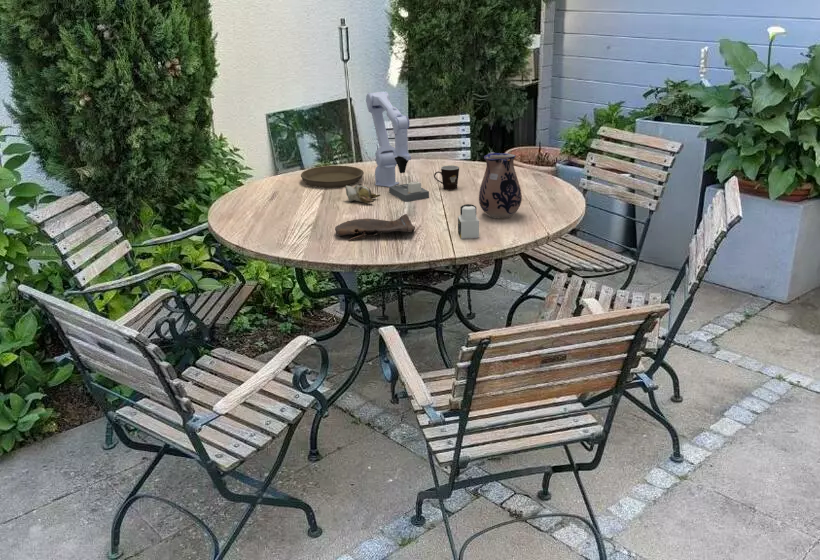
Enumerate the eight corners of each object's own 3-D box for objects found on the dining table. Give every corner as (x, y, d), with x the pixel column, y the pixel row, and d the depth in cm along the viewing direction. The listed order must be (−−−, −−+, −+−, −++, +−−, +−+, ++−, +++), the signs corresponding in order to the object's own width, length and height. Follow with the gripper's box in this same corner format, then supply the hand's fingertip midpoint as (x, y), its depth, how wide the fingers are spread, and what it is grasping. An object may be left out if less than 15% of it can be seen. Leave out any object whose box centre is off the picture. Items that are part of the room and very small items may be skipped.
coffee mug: (459, 186, 343) (459, 165, 339) (459, 190, 335) (459, 169, 331) (435, 185, 344) (435, 165, 340) (434, 190, 336) (433, 169, 332)
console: (389, 193, 335) (388, 186, 334) (412, 189, 340) (411, 182, 339) (405, 201, 321) (405, 195, 320) (429, 197, 326) (428, 191, 324)
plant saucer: (376, 177, 362) (375, 168, 360) (338, 193, 338) (337, 183, 336) (327, 171, 378) (327, 162, 376) (288, 185, 354) (287, 176, 352)
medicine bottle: (457, 233, 280) (457, 203, 275) (475, 232, 281) (476, 202, 276) (460, 239, 274) (460, 208, 269) (479, 238, 274) (479, 207, 269)
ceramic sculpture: (349, 178, 326) (381, 182, 323) (349, 197, 330) (380, 200, 327) (341, 185, 317) (373, 188, 314) (341, 203, 321) (373, 207, 317)
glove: (333, 242, 275) (332, 230, 273) (337, 226, 293) (336, 214, 291) (415, 240, 275) (415, 228, 273) (415, 223, 293) (414, 212, 291)
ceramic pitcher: (494, 224, 288) (495, 163, 278) (466, 211, 305) (466, 153, 296) (529, 217, 295) (532, 157, 286) (500, 204, 313) (501, 147, 303)
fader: (408, 191, 324) (407, 182, 323) (418, 189, 326) (417, 181, 325) (411, 193, 322) (411, 184, 320) (421, 191, 324) (420, 182, 322)
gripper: (386, 141, 331) (387, 170, 336) (400, 147, 319) (401, 177, 324) (400, 139, 334) (401, 168, 339) (414, 145, 322) (415, 175, 327)
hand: (402, 172), depth 332 cm, fingers closed
